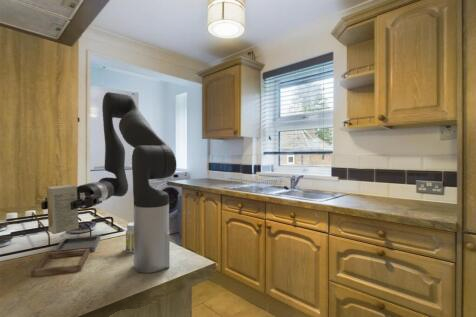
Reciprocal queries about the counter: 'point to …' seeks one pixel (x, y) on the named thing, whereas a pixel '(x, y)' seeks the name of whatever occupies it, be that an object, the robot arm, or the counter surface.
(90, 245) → the charcoal seat plate
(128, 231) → the supplement bottle
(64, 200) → the skincare box
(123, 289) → the counter surface
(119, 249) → the counter surface
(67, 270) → the frame
